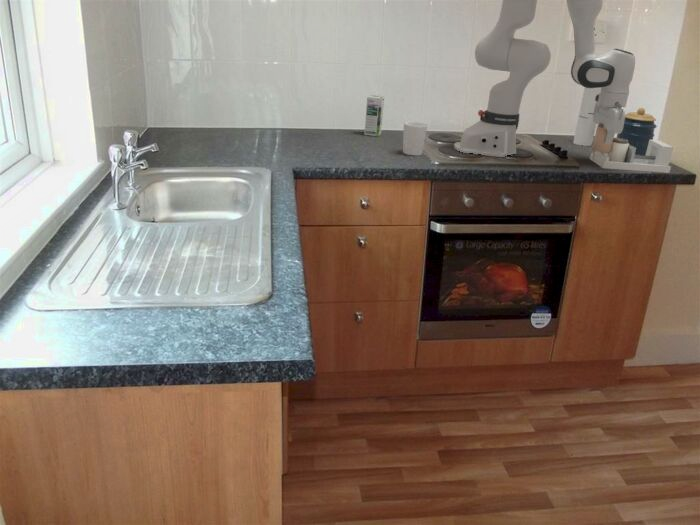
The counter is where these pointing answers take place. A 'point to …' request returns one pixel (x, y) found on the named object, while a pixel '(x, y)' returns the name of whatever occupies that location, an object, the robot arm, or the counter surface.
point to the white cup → (414, 138)
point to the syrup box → (374, 115)
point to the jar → (601, 140)
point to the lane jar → (618, 150)
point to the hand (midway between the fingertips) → (603, 141)
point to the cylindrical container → (586, 118)
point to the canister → (638, 130)
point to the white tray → (654, 149)
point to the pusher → (631, 155)
